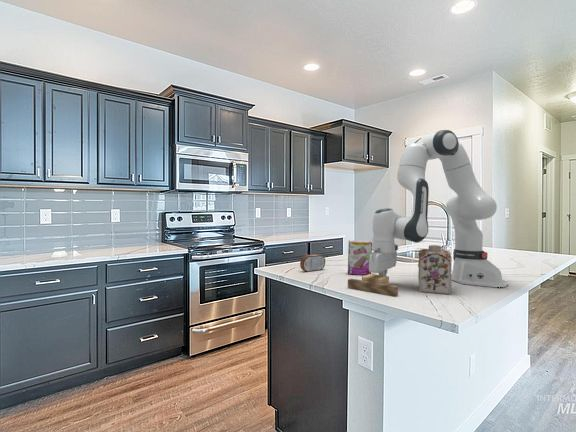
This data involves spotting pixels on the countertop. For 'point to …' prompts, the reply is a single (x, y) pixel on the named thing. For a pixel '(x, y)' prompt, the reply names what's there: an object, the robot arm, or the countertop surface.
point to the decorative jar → (434, 270)
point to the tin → (312, 262)
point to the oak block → (376, 278)
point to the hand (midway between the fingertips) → (382, 280)
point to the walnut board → (373, 287)
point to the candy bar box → (359, 257)
